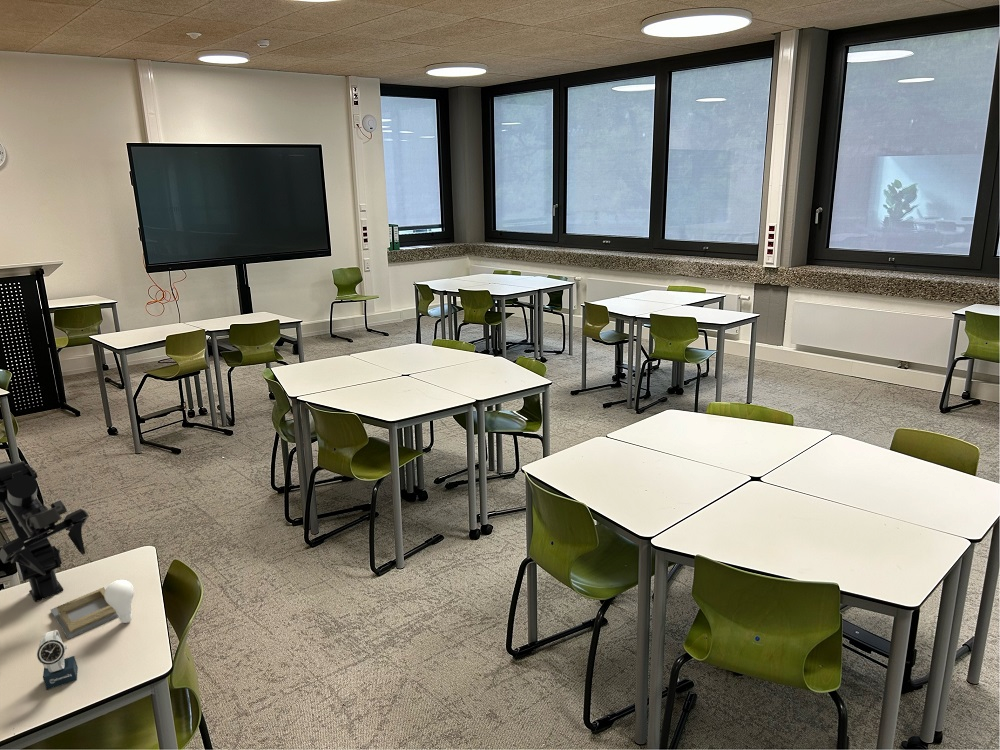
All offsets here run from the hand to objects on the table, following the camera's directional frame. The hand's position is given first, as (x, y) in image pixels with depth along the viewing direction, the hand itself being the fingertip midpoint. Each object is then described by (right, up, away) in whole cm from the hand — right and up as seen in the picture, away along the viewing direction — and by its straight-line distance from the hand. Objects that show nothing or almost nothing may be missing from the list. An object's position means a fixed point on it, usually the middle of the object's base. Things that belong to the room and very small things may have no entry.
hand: (64, 564), depth 167 cm
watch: (+11, -20, -18) cm, 29 cm away
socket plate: (+3, -13, +4) cm, 14 cm away
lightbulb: (+15, -14, -1) cm, 20 cm away
